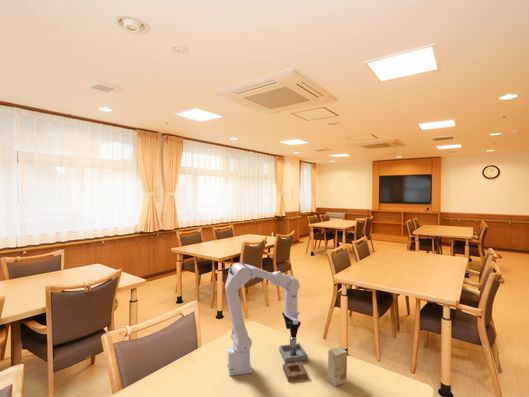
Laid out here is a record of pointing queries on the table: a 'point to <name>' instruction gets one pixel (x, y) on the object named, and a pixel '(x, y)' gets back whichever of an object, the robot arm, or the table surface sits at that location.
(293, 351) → the pin
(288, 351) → the tray
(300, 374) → the socket
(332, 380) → the skincare box
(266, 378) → the table surface
